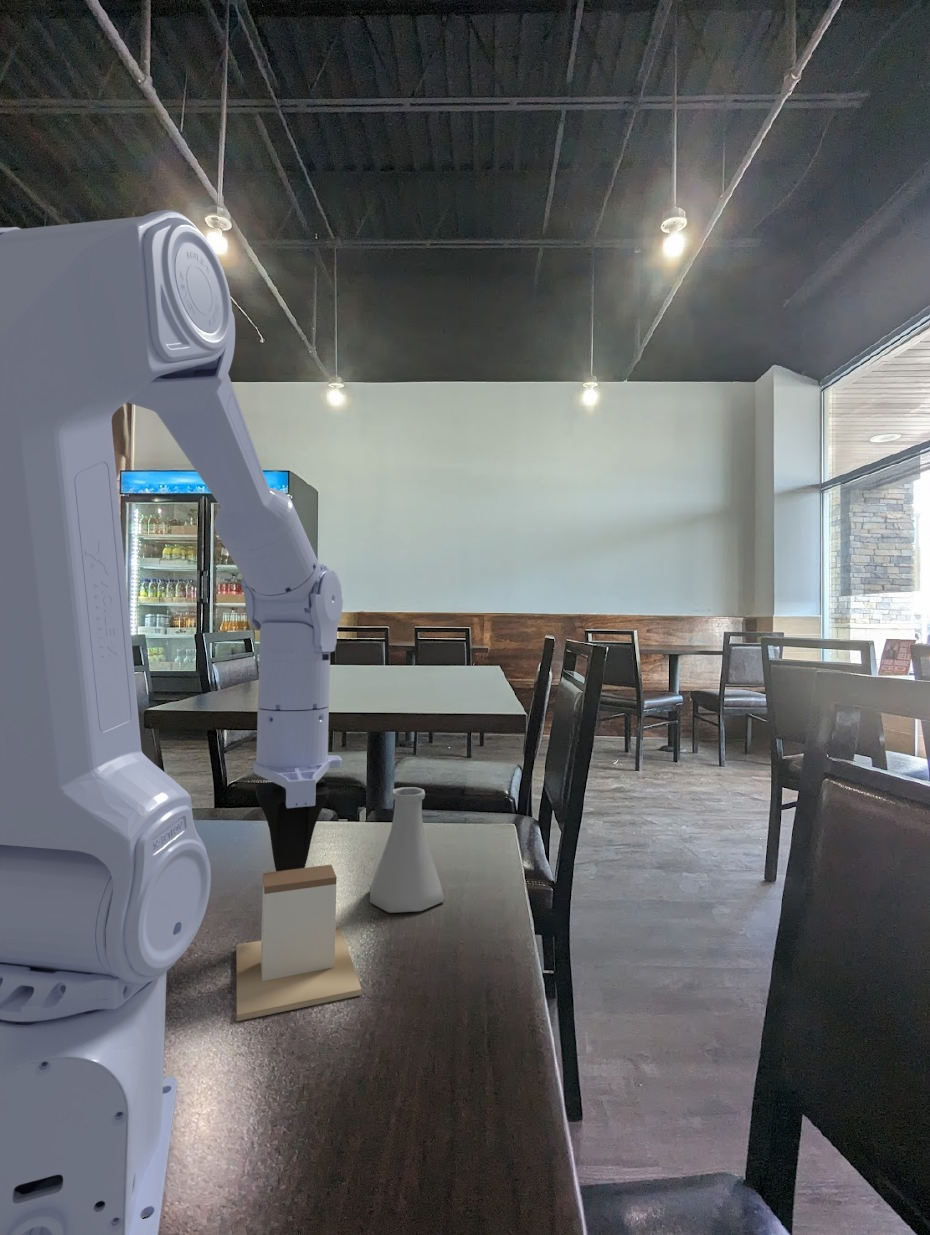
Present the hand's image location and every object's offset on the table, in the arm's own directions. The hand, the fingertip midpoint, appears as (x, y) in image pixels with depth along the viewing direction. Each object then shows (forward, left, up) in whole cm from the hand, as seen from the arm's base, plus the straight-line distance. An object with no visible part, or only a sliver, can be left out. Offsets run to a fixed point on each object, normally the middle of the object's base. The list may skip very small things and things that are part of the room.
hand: (289, 871), depth 48 cm
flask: (+3, -11, -5) cm, 13 cm away
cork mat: (-6, 0, -5) cm, 8 cm away
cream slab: (-6, 0, -5) cm, 7 cm away
